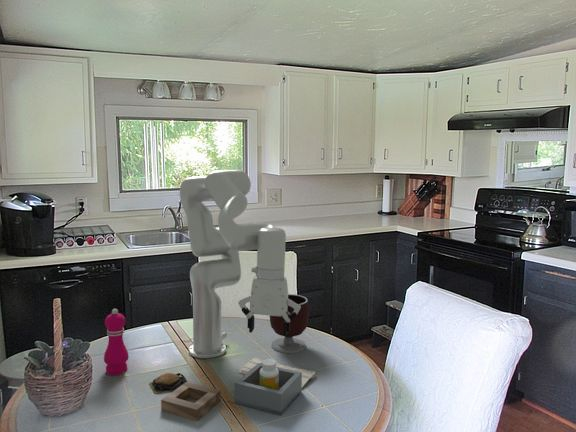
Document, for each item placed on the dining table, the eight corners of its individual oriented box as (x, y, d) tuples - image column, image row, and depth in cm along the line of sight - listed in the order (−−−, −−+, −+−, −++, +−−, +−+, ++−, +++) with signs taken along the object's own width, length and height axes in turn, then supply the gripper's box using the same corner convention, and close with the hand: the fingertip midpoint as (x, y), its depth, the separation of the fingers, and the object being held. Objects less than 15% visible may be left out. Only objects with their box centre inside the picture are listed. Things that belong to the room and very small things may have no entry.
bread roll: (154, 397, 139) (154, 385, 139) (148, 384, 147) (147, 372, 146) (191, 389, 144) (190, 377, 144) (183, 376, 152) (183, 365, 151)
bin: (258, 381, 148) (258, 362, 147) (301, 392, 142) (301, 372, 142) (234, 403, 135) (234, 382, 135) (280, 415, 130) (281, 394, 129)
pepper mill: (121, 377, 149) (119, 313, 147) (99, 374, 151) (97, 311, 148) (133, 366, 156) (131, 306, 154) (112, 364, 158) (110, 304, 155)
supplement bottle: (256, 397, 137) (256, 364, 135) (264, 387, 142) (264, 356, 140) (274, 401, 135) (274, 367, 134) (281, 391, 140) (281, 359, 138)
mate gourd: (279, 336, 184) (280, 284, 182) (313, 342, 179) (315, 289, 176) (259, 351, 171) (260, 295, 168) (296, 358, 165) (297, 301, 162)
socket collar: (186, 391, 141) (186, 381, 141) (220, 400, 137) (220, 390, 136) (161, 410, 131) (161, 399, 131) (197, 420, 127) (197, 409, 126)
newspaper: (318, 375, 154) (318, 368, 154) (300, 396, 144) (300, 388, 143) (256, 359, 165) (256, 352, 164) (236, 377, 155) (235, 370, 154)
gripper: (236, 274, 132) (234, 334, 135) (300, 279, 129) (297, 341, 132) (243, 266, 139) (241, 324, 142) (303, 271, 136) (301, 330, 139)
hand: (268, 332), depth 137 cm, fingers open, 9 cm apart
